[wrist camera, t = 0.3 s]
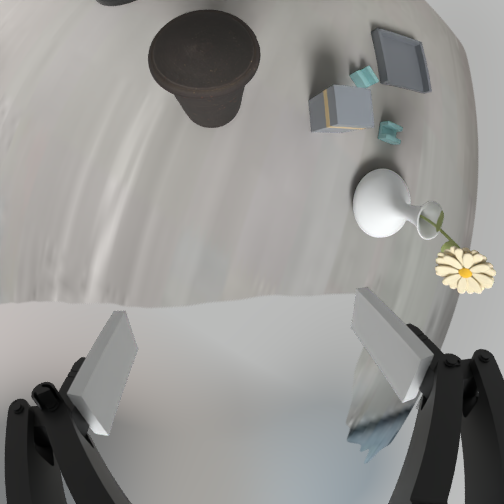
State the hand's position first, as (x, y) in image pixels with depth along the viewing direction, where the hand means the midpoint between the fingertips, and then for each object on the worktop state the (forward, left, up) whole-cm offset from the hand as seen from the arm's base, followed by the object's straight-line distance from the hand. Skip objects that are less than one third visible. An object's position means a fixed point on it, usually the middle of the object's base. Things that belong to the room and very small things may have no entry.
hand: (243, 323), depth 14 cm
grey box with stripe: (-15, +15, -27) cm, 34 cm away
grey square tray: (-27, +31, -27) cm, 49 cm away
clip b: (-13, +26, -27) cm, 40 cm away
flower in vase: (0, +25, -27) cm, 37 cm away
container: (-18, -1, -27) cm, 33 cm away
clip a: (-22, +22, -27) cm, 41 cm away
